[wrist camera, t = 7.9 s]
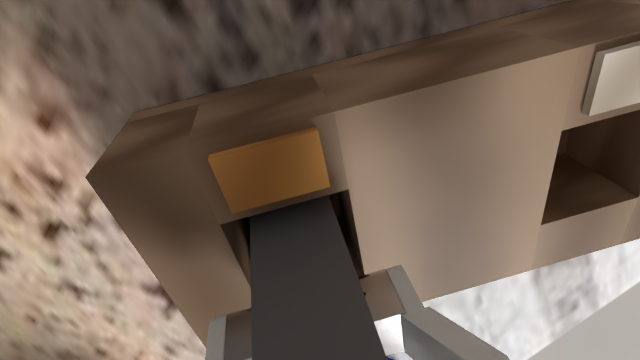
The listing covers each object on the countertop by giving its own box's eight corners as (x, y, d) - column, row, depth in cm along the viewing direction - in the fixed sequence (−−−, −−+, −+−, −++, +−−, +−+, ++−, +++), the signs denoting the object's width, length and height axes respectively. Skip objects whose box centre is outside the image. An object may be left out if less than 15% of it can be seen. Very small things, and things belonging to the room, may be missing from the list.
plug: (328, 177, 13) (435, 456, 6) (342, 240, 15) (437, 510, 8) (243, 201, 13) (238, 518, 6) (268, 261, 15) (289, 558, 7)
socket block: (641, -18, 15) (812, -10, 10) (586, 173, 20) (681, 232, 16) (134, 112, 14) (81, 182, 9) (222, 276, 19) (215, 368, 15)
